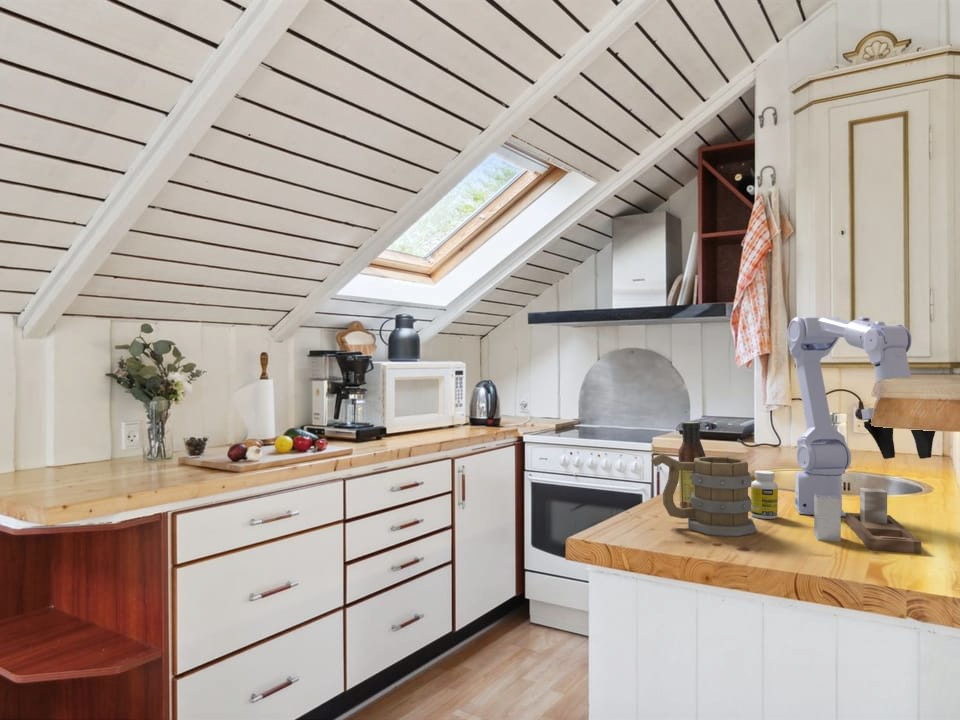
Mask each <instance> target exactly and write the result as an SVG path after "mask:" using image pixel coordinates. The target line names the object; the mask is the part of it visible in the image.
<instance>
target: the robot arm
mask: <svg viewBox="0 0 960 720" xmlns="http://www.w3.org/2000/svg"><path fill="white" fill-rule="evenodd" d="M786 338H787V343H788V348H789V349H788V350H789V353H790V356H791V357H793V359H794V363H795V364H794V365H795V368H796V375H797V380H798V386H799V393H800V397H801V403H802V408H803V409H802V410H803V415H804V420H805V425H806V431H805V432H804V433H802V434H801V435H800V436H799V437H798V438H797V440H796V443H797V450H796V459H797V460H796V461H797V464H798V465H799V467H800V468H801V470H802V471H797V472H795V480H794V482H795V483H794V484H795V486H794V488H795V492H794V494H795V495H794V496H795V497H794V504H795V505H794V508H795V509H796V511H797V512H798V514H799V515H811V516H812V515H813V516H814V494H818V495H837V496H838V497H839V498H840V499H841V517H845V518H846V513H847V512H845V511H844V510H843V503H842V501H843V491H842V490H843V484H842V483H843V480H842V479H843V475H845V474H846V470H848V469H849V468H850V465H851V462H852V453H851V451H850V448H849V447H848V445H847V442H846V438H845V436H844V435H843V434H842V433H841V432H839V431H838V430H836V429H835V428H834V427H833V424H832V417H831V412H830V408H829V403H828V398H827V392H826V387H825V383H824V382H825V381H824V376H823V371H822V367H821V360H822V359H823V358H825V357H828V356H829V354H830V353H831V351H832V350H833V348H834V347H835V345H836V344H837V342H838V341H839V339H840V338H844V340H845V341H846V343H847V344H848V345H850V346H852V347H854V348H855V347H856V348H858V349H861V350H864V351H865V353H866V354H867V355H868V358H869V359H868V360H869V362H870V364H871V365H873V369H874V374H875V379H876V383H877V382H878V381H880V380H885V379H891V378H897V377H901V378H911V379H912V375H911V370H910V366H909V365H910V364H909V360H908V354H907V353H908V352H909V351H910V349H911V347H912V346H911V345H912V335H911V332H910V330H909V329H908V328H907V327H906V326H904V325H902V324H896V325H886V323H885V322H884V321H880V320H879V321H871V318H870V317H868V316H867V317H866V316H859V318H858V319H857V318H856V319H853V320H852V321H848V320H846V319H845V320H844V319H841V318H840V317H837V316H836V317H835V316H834V317H832V316H831V317H829V316H828V317H827V316H825V317H822V316H821V317H820V316H819V317H814V316H813V317H800V316H798V317H797V316H795V317H794V318H792V319H791V320H790V322H789V324H788V327H787V331H786ZM874 408H875V407H868V408H864V409H861V410H860V412H861V415H862V416H861V417H862V421H864V422H863V427H864V428H865V429H866V430H867V431H868V432H869V434H870V436H871V437H872V438H873V440H874V441H875V443H876V445H877V447H878V449H879V450H880V454H881V456H882V457H883V459H884V460H887V459H888V460H889V459H894V458H895V457H896V451H895V443H894V427H893V428H883V427H874V426H871V424H870V423H871V418H872V413H873V409H874ZM910 432H911V434H912V437H913V439H914V440H913V441H914V442H915V446H916V447H915V448H916V452H917V455H918V457H919V459H921V460H922V459H923V460H925V459H930V458H932V452H933V444H934V443H933V442H934V438H935V434H936V432H937V430H936V431H923V430H910Z"/></svg>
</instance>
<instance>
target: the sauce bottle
mask: <svg viewBox="0 0 960 720" xmlns="http://www.w3.org/2000/svg"><path fill="white" fill-rule="evenodd" d="M681 428H682V437H683V438H682V443H681V445H680V447H679V449H678V461H680V462H694V459H695V458H699V457H707V456H706V453H705V451H704V447H703V444H702V442H701V436H700V434H701V433H700V432H701V431H700V430H701V423H700V422H699V421H683V422H681ZM690 476H691V471H686V470H679V480H678V499H679V500H678V501H679V508H691V507H692V502H691V501H690V499H691V493H693V492H694V485H693V484H692V481H691V478H690Z"/></svg>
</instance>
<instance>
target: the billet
mask: <svg viewBox="0 0 960 720" xmlns="http://www.w3.org/2000/svg"><path fill="white" fill-rule="evenodd" d="M813 516H814V519H813V523H814V524H813V531H814V533H813V535H814V537H815V538H816V540H817V541H822V542H823V541H824V542H837V543H838V542H839V543H840V542H842V538H841V537H842V536H841V535H842V533H841V532H842V531H841V529H842V528H841V527H842V525H841V524H842V523H841V522H842V519H841V517H842V516H841V499H840V498H839V497H838V496H837V495H818V494H814V515H813Z"/></svg>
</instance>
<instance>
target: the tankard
mask: <svg viewBox="0 0 960 720" xmlns="http://www.w3.org/2000/svg"><path fill="white" fill-rule="evenodd" d="M651 462H652V464H653V466H654V467H657V466H659V465H661V464H663V465H665V466H667V467H668V479H667V481H666V483H665V487H664V489H663V491H662V504H663V506H664V508H665V510H666V511H667V513H668V515H669V516H670V517H674V518H678V519H681V520H682V519H687V526H688V529H689V530H690V531H693V532H697V533H701V534H704V535H707V536H717V537H734V538H735V537H742V536H747V535H753V534H755V533H756V525H755V523H754V520H753V519H752V518H749V513H751V504H752V502H751V496H750V495H749V488H751V484H752V482H753V481H752V475H751V473H750V471H749V463H748V461H747V460H746V459H745V458H744V459H743V458H738V457H736V458H735V457H732V456H731V457H729V456H706V457H699V458H695V459H694V462H680V461H679V460H678V459H675V458H672V457H670V456H668V455H666V454H664V453H663V452H662V453H661V454H658V455H657V456H655V457H653V458H651ZM679 470H686V471H691V476H690V478H691V481H692V484H693V485H694V492H693V493H691V499H690V501H691V502H692V507H691V508H681V507H680V506H679V507H677V506H676V504H675V502H674V495H675V492H676V489H677V486H678V485H679Z"/></svg>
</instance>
